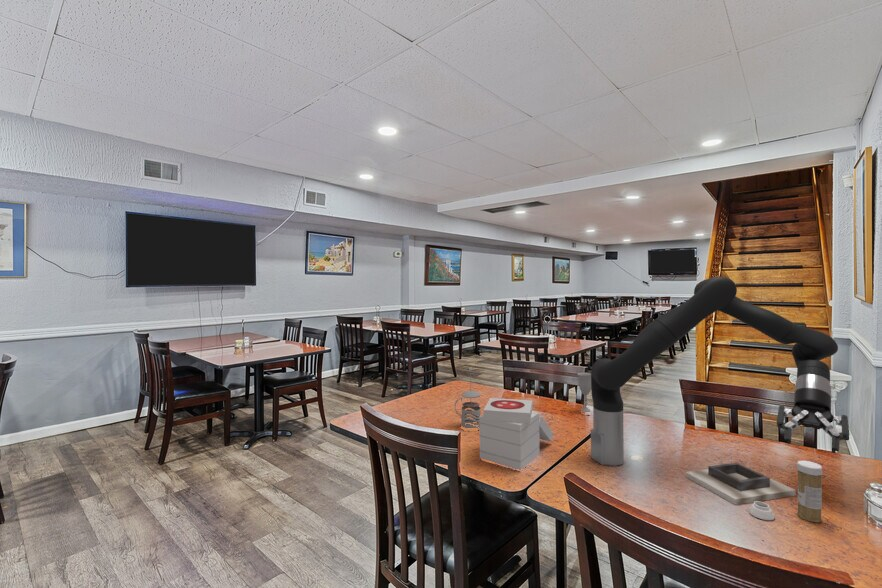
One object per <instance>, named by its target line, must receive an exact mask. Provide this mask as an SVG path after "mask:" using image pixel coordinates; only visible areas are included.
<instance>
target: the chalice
mask: <svg viewBox="0 0 882 588" xmlns="http://www.w3.org/2000/svg"><path fill="white" fill-rule="evenodd" d="M577 376H578V387H579V390H580V392H581V394H582V395H583V396H584V397H583V400H584V402H583V405H584V407H582V408H581V410H580V412H581V411H582V412H591V410H590V409H589V408H588V407H586V406H588V402H587V400H588V397H587V395H589V394H590V392H591V372H577Z"/></svg>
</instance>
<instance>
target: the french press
mask: <svg viewBox="0 0 882 588" xmlns="http://www.w3.org/2000/svg"><path fill="white" fill-rule="evenodd" d="M468 371H470V372H469V373H470V379H469V380H470V381H469V382H470V383H469V384H470V385H469V386H470V388H469V390H466V391H464V392H462V393H461V394H460V396H461V397H459V398H457V399H456V400H455V402H454V410H455V413H456V414H457V415H458V416H459V417H460V418H461V425H462V426H463V427H465V428H478V427H479V426H478V427H476V426H473V425H470V424H466V425H465V423H471V424H474V425H479V416H481V407H480V403H478V402H477V401H467V402H466V401H465V402H463V398H466V399H477V398H480V397H481V393H480V392H478V391H475V390H472V375H471V374H472V371H474V369H473V367H472V366H471V367H468ZM460 400H461V402H463V403H462V404H461V406H462V407H461V413H459V412H458V411H457V409H456V407H457V406H456V405H457V404H458V402H459V401H460ZM473 422H477V423H473Z"/></svg>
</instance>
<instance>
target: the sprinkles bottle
mask: <svg viewBox="0 0 882 588" xmlns="http://www.w3.org/2000/svg"><path fill="white" fill-rule="evenodd" d="M796 465H797V466H796V469H797V512H796V514H797V515H798V517H800V518H801V519H803V520H805V521H808V522H812V523H821V522H822V521H823V518H822V508H823V507H822V506H823V505H822V503H823V502H822V501H823V497H822V495H823V493H822V492H823V487H822V477H823V466H822V465H821V464H819V463H816V462H813V461H809V460H798V461H797V463H796Z"/></svg>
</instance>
